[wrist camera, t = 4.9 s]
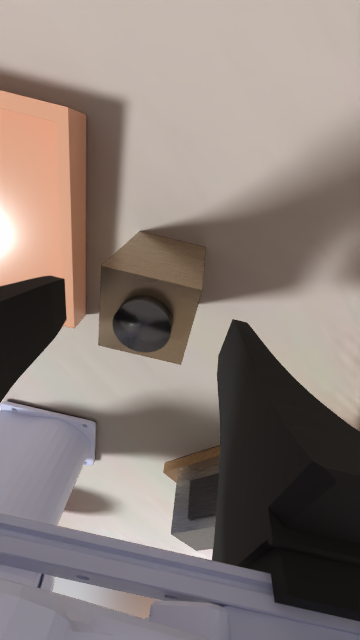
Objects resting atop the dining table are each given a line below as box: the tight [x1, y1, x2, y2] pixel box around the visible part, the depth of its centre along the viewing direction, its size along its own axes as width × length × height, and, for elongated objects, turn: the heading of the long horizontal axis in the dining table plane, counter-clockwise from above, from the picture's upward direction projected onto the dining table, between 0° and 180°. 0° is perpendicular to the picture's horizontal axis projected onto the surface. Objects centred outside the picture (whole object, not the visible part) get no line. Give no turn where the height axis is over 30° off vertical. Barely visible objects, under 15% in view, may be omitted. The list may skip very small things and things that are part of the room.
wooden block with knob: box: [98, 231, 206, 365], centre depth 13 cm, size 4×4×7 cm
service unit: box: [163, 446, 220, 551], centre depth 24 cm, size 7×14×6 cm, turn 127°
